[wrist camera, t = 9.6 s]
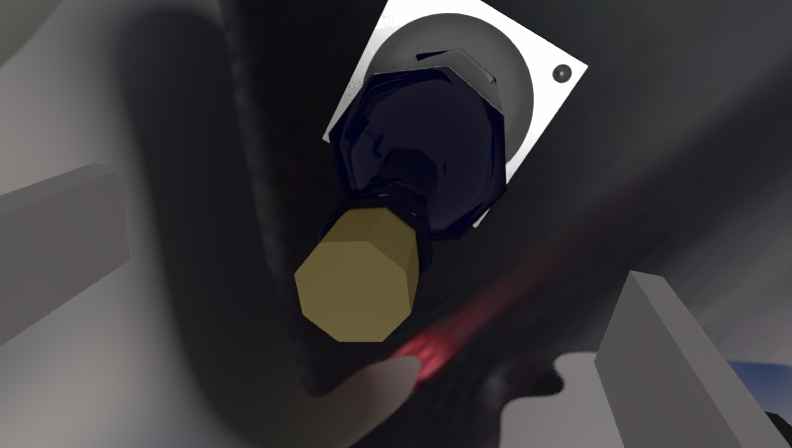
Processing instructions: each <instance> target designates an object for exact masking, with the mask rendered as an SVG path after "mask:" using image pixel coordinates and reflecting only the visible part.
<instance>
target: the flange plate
mask: <svg viewBox="0 0 792 448" xmlns="http://www.w3.org/2000/svg"><path fill="white" fill-rule="evenodd" d="M455 49H463V50H464V51H465V52H466V53H468V54H469V55H470V56H471V57H472V58H473V59H474V60H476V61H477V62H478V63H479V64H480V65H481V66H482V67H484V68H485V69H486V70H487V71H488V72H489V73H490V74H492V75H493V76H494V77H495V78H496V85H497V91H498V95H499V99H500V103H501V106H502V110H503V114H504V125H505V155H506V184H507V183H508V181H509V180H510V178H511V177H512V175H513V174H514V173H515V171H516V170H517V168H518V167H519V165H520V164H521V163H522V161H523V160H524V158H525V157H526V155H527V154H528V152H529V151H530V150H531V148H532V147H533V145H534V144H535V142H536V141H537V139H538V138H539V137H540V135H541V134H542V132H543V131H544V129H545V128H546V126H547V125H548V124H549V122H550V121H551V119H552V118H553V116H554V115H555V113H556V112H557V111H558V109H559V108H560V106H561V105H562V103H563V102H564V100H565V99H566V98H567V96H568V95H569V93H570V92H571V90H572V89H573V87H574V86H575V85H576V83H577V82H578V80H579V79H580V77H581V76H582V74H583V73H584V72H585V70H586V69H587V67H588V66H587V65H585V64H584V63H582V62H580V61H579V60H577V59H575V58H574V57H572V56H570V55H569V54H567V53H566V52H564V51H562V50H561V49H559V48H557V47H556V46H554V45H552V44H551V43H549V42H547V41H546V40H544V39H542V38H541V37H539V36H538V35H536V34H534V33H533V32H531V31H529V30H528V29H526V28H524V27H523V26H521V25H519V24H518V23H516V22H514V21H513V20H511V19H510V18H508V17H506V16H505V15H503V14H501V13H500V12H498V11H496V10H495V9H493V8H491V7H490V6H488V5H486V4H485V3H483V2H481V1H480V0H389V1H388V3H387V5H386V7H385V9H384V11H383V13H382V15H381V17H380V19H379V21H378V24H377V26H376V28H375V30H374V32H373V34H372V36H371V38H370V40H369V42H368V44H367V46H366V49H365V51H364V53H363V55H362V57H361V59H360V61H359V63H358V65H357V67H356V69H355V72H354V74H353V76H352V78H351V80H350V82H349V84H348V86H347V88H346V90H345V92H344V95H343V97H342V99H341V101H340V103H339V105H338V107H337V109H336V111H335V113H334V115H333V117H332V120H331V122H330V124H329V126H328V128H327V130H326V132H325V134H324V136H323V138H322V139H324V140H325V141H327V142H329V136H328V133H329V132H330V130H331V129H332V127H333V126H334V125H335V123H336V122H337V121H338V119H339V118H340V116H341V115H342V114H343V112H344V111H345V110H346V108H347V107H348V105H349V104H350V103H351V101H352V100H353V99H354V97H355V96H356V94H357V93H358V92H359V90H360V89H361V88H362V86H363V85H364V83H365V82H366V81H367V79H368V78H369V77H370V76H371V75H373V74H375V73H377V72H380V71H382V70H384V69H387V68H389V67H392V66H394V65H397V64H399V63H401V62H404V61H406V60H409V59H411V58H413V57H415V56H416V54H421V53H429V52H438V51H446V50H455ZM329 143H330V142H329ZM489 209H490V208H489ZM489 209H488V210H489ZM488 210H487V211H486V212H485V213H484V215H483V216H482V217H481V218H480V219H479V220H478V221H477V222H476V223H475V224H474V225H473V226H474V227H475V228H476V227H477V226H478V225H479V223H480V222H481V220H482V219H483V217H484V216H485V214H486V213H487V212H488Z"/></svg>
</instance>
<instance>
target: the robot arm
mask: <svg viewBox="0 0 792 448" xmlns="http://www.w3.org/2000/svg"><path fill="white" fill-rule="evenodd" d="M121 175H122V174H121V168H117V167H112V166H107V165H102V164H97V163H92V164H89V165H87V166H84V167H81V168H78V169H75V170H72V171H70V172H67V173H64V174H61V175H58V176H55V177H52V178H50V179H47V180H44V181H41V182H38V183H35V184H33V185H30V186H27V187H24V188H21V189H18V190H15V191H13V192H10V193H7V194H4V195H1V196H0V346H1V345H3V344H4V343H6V342H7V341H9V340H10V339H12V338H13V337H15V336H16V335H17V334H19V333H21V332H22V331H24V330H25V329H26V328H28V327H30V326H31V325H33V324H34V323H36V322H37V321H39V320H40V319H42V318H43V317H44V316H46V315H48V314H49V313H51V312H52V311H53V310H55V309H56V308H58V307H60V306H61V305H62V304H64V303H66V302H67V301H69V300H70V299H72V298H73V297H74V296H76V295H77V294H79V293H80V292H82V291H84V290H85V289H86V288H88V287H89V286H91V285H92V284H94V283H95V282H97V281H99V280H100V279H101V278H103V277H104V276H106V275H108V274H109V273H110V272H112V271H113V270H115V269H116V268H118V267H120V266H121V265H122V264H124V263H125V262H127V261H129V254H128V243H127V232H126V220H125V209H124V197H123V186H122V176H121ZM594 362H595V365H596V368H597V371H598V374H599V377H600V380H601V383H602V385H603V388H604V391H605V394H606V397H607V399H608V402H609V405H610V408H611V411H612V414H613V416H614V419H615V422H616V425H617V428H618V430H619V433H620V436H621V439H622V442H623V445H624V447H625V448H792V426H791V425H789V424H788V423H787V422H786V421H785V420H784V419H782V418H781V417H780V416H779V415H778V414H773V413H769V412H765V411H763V410H762V408H761V407H760V406H759V404H758V403H757V401H756V400H755V399H754V398H753V396H752V395H751V393H750V392H749V391H748V389H747V388H746V387H745V385H744V384H743V383H742V381H741V380H740V379H739V377H738V376H737V375H736V374H735V372H734V371H733V369H732V368H731V367H730V365H729V364H728V363H727V362H726V360H725V359H724V358H723V356H722V355H721V354H720V352H719V351H718V350H717V348H716V347H715V346H714V344H713V343H712V342H711V340H710V339H709V338H708V336H707V335H706V334H705V332H704V331H703V330H702V328H701V327H700V326H699V324H698V323H697V322H696V320H695V319H694V318H693V316H692V315H691V314H690V312H689V311H688V310H687V308H686V307H685V306H684V304H683V303H682V302H681V300H680V299H679V298H678V296H677V295H676V294H675V292H674V291H673V290H672V288H671V287H670V286H669V284H668V283H667V282H666V280H665V279H664V278H663V277H660V276H655V275H650V274H645V273H640V272H635V271H630V272H629V275H628V277H627V280H626V282H625V285H624V287H623V290H622V292H621V295H620V297H619V300H618V302H617V305H616V308H615V310H614V313H613V315H612V318H611V320H610V323H609V325H608V328H607V330H606V333H605V335H604V338H603V340H602V343H601V345H600V348H599V350H598V353H597V355H596V358H595V361H594Z"/></svg>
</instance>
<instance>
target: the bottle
mask: <svg viewBox="0 0 792 448" xmlns="http://www.w3.org/2000/svg"><path fill="white" fill-rule="evenodd" d="M328 136H329V142H330V148H331V154H332V160H333V166H334V172H335V178H336V184H337V190H338V196H339V201H340V202H341V203H340V204H339V205H338V207H337V208H336V209H335V210H334V212H333V213H332V214H331V215H330V217H329V218H328V219H327V220H326V222H325V223H324V225H323V226H322V227H321V229H320V230H319V231H318V236H319V241H320V243H319V244H318V245H317V247H316V248H315V249H314V250H313V252H312V253H311V254H310V255H309V257H308V258H307V259H306V260H305V262H304V263H303V264H302V265H301V267H300V268H299V269H298V270H297V272H296V273H295V274H294V275H295V280H296V285H297V289H298V294H299V298H300V303H301V308H302V312H303V315H304V316H305V317H307V318H308V319H309V320H311V321H312V322H313V323H315V324H316V325H317V326H319V327H320V328H321V329H323V330H324V331H325V332H327V333H328V334H329V335H331V336H332V337H333V338H335V339H336V340H337V341H339V342H382V341H383V340H384V339H385V338H386V337H387V336H388V335H389V334H390V333H391V332H392V331H393V330H394V329H395V328H396V327H397V326H398V325H399V324H400V323H401V322H402V321H404V320H405V319H406V318H407V317H408V316H409V315H410V314H411V310H412V305H413V301H414V296H415V292H416V287H417V283H418V280H419V279H420V278H421V277H422V276H423V275H424V274H425V273H426V272H427V271H428V270H429V269H430V265H431V261H432V257H433V248H432V241H443V240H459V239H460V238H461V237H462V236H463V235H464V234H465V233H466V232H467V231H468V230H469V229H470V228H471V227H472V226H473V225H474V224H475V223H476V222H477V221H478V220H479V219H480V218H481V217H482V216H483V215H484V213H485V212H486V211H487V210H488V209H489V208H490V207H491V206H492V205H493V204H494V203H495V202H496V201H497V200H498V199H499V198H500V197H501V196H502V195H503V194H504V193H505V192H506V191H507V184H506V155H505V125H504V114H503V110H502V106H501V103H500V99H499V95H498V91H497V85H496V78H495V77H494V76H493V75H492V74H490V73H489V72H488V71H487V70H486V69H485V68H484V67H482V66H481V65H480V64H479V63H478V62H477V61H476V60H474V59H473V58H472V57H471V56H470V55H469V54H468V53H466V52H465V51H464V50H463V49H455V50H446V51H438V52H429V53H421V54H416V56H415V57H413V58H411V59H409V60H406V61H404V62H401V63H399V64H397V65H394V66H392V67H389V68H387V69H384V70H382V71H380V72H377V73H375V74H373V75H371V76H370V77H369V78H368V79H367V81H366V82H365V83H364V85H363V86H362V88H361V89H360V90H359V92H358V93H357V94H356V96H355V97H354V99H353V100H352V101H351V103H350V104H349V105H348V107H347V108H346V110H345V111H344V112H343V114H342V115H341V116H340V118H339V119H338V121H337V122H336V123H335V125H334V126H333V127H332V129H331V130H330V132H329V133H328Z"/></svg>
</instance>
